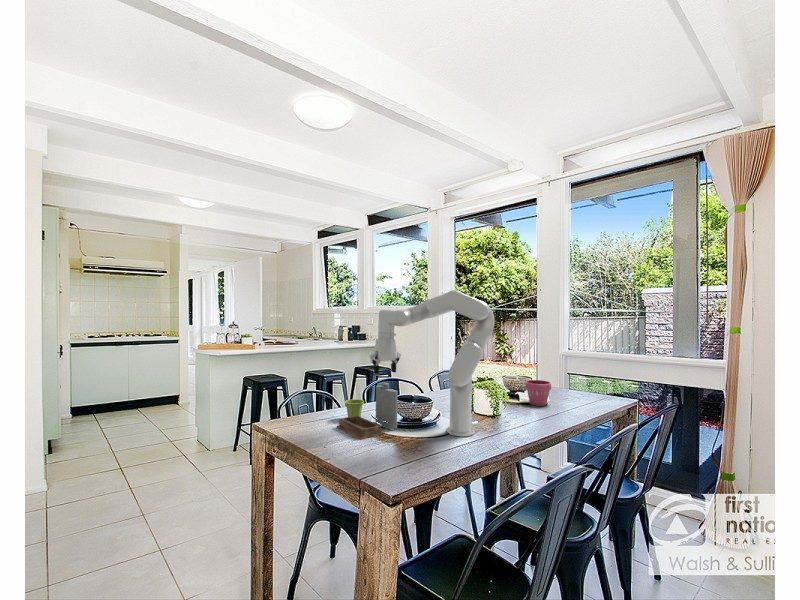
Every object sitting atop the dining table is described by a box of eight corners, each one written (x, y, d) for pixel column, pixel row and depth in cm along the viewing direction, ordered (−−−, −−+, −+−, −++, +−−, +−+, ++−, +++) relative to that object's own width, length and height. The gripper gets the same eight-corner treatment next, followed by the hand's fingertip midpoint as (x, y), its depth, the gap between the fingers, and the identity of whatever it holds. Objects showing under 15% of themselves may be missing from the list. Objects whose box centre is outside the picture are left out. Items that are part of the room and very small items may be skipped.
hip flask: (398, 429, 193) (399, 385, 193) (390, 431, 191) (391, 386, 191) (379, 421, 206) (380, 379, 206) (372, 422, 204) (373, 380, 204)
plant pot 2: (520, 401, 251) (520, 379, 251) (542, 400, 254) (542, 379, 254) (533, 407, 237) (533, 384, 237) (555, 406, 240) (556, 383, 240)
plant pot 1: (341, 420, 206) (341, 402, 206) (349, 415, 215) (349, 398, 215) (358, 422, 203) (359, 404, 203) (366, 417, 212) (366, 400, 212)
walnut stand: (359, 423, 202) (359, 415, 202) (383, 434, 186) (383, 425, 186) (336, 427, 195) (336, 419, 195) (359, 439, 179) (360, 430, 179)
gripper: (396, 335, 207) (395, 370, 207) (366, 336, 196) (365, 373, 197) (405, 336, 201) (404, 372, 201) (375, 337, 190) (374, 375, 191)
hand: (385, 372), depth 199 cm, fingers open, 9 cm apart
